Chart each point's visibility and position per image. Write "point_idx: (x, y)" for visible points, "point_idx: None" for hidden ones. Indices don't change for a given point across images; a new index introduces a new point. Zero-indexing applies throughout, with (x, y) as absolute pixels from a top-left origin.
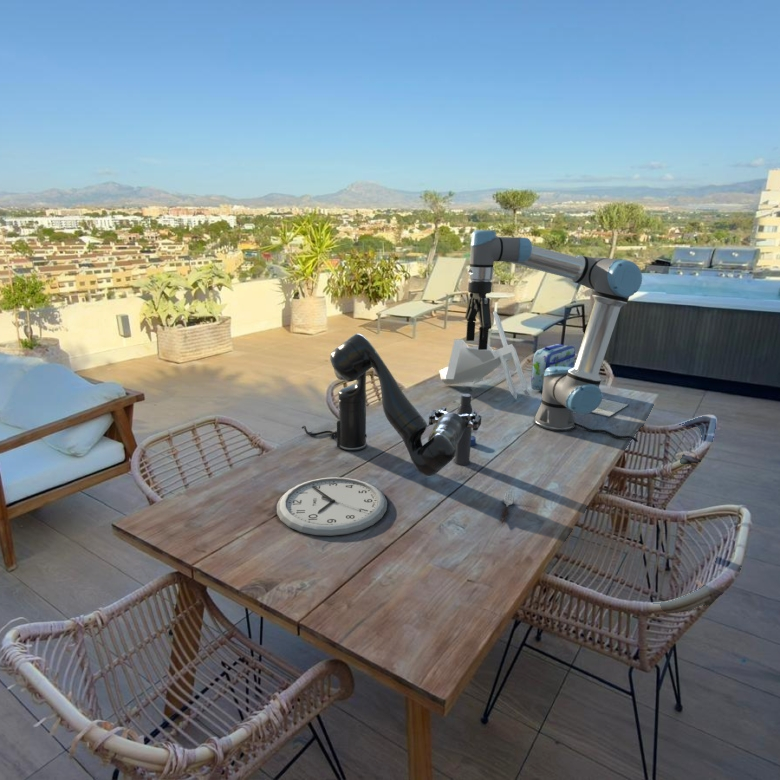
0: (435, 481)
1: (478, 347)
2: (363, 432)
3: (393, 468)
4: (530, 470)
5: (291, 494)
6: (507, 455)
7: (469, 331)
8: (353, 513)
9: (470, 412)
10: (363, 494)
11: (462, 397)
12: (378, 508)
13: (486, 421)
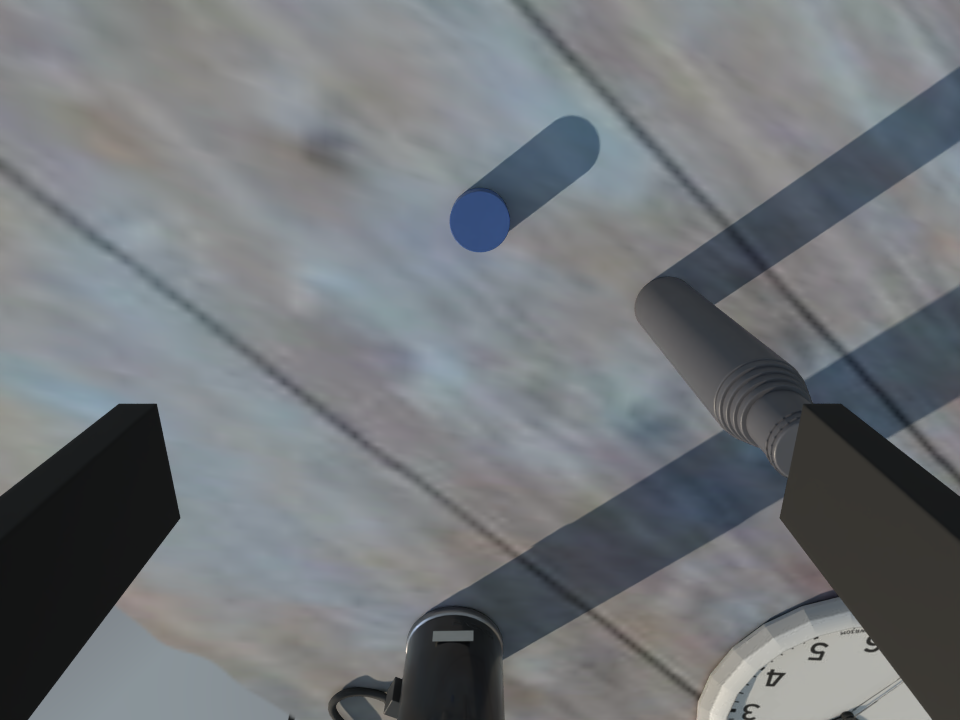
0: None
1: (803, 535)
2: (485, 666)
3: (660, 546)
4: (823, 18)
5: None
6: (642, 70)
7: (81, 599)
8: None
9: (802, 381)
10: (833, 650)
11: None
12: None
13: (169, 14)
